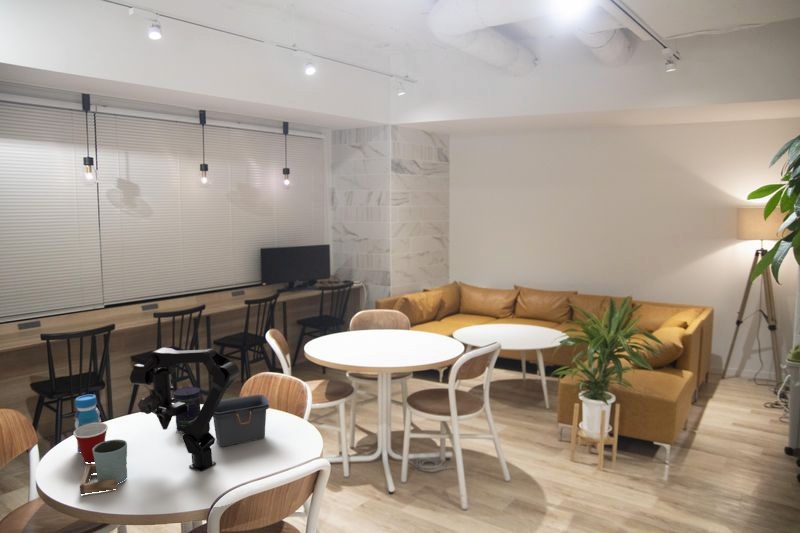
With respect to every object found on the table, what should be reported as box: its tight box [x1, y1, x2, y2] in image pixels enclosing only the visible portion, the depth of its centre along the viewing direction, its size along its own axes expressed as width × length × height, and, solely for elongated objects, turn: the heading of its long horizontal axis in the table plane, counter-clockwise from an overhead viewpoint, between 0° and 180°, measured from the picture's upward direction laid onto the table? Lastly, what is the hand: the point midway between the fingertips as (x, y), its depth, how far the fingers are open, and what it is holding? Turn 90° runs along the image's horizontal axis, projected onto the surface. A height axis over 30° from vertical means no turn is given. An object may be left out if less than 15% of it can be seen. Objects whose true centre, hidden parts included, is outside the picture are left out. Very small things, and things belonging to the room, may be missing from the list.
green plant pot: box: [92, 439, 128, 484], centre depth 193 cm, size 10×10×12 cm
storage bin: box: [212, 394, 271, 447], centre depth 223 cm, size 21×16×14 cm
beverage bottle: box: [74, 394, 102, 453], centre depth 216 cm, size 8×8×20 cm
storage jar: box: [173, 386, 202, 433], centre depth 236 cm, size 10×10×15 cm
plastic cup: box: [72, 422, 109, 463], centre depth 208 cm, size 11×11×12 cm
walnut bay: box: [79, 464, 118, 494], centre depth 192 cm, size 10×15×4 cm
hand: (165, 429), depth 205 cm, fingers closed
